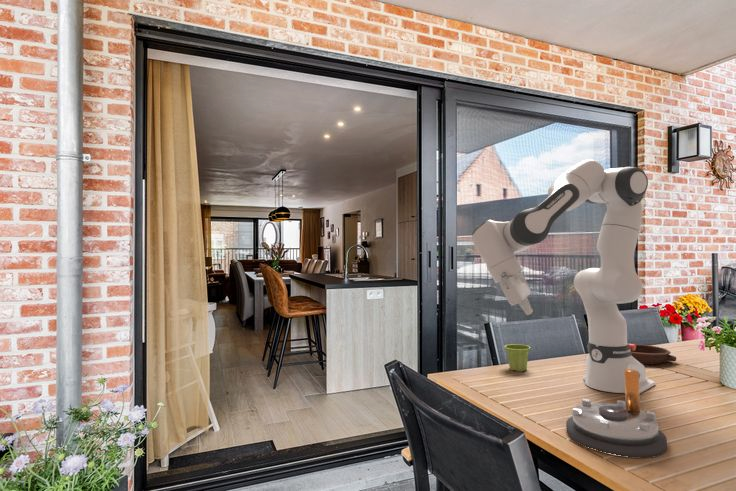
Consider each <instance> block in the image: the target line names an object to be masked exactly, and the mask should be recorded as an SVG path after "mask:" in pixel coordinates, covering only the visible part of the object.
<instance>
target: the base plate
mask: <svg viewBox="0 0 736 491" xmlns="http://www.w3.org/2000/svg"><path fill="white" fill-rule="evenodd" d="M565 424H566V428H565V429H566V433H568V434H567V435H568V437H569V436H570V437H571V438H572V439H573V440H572V439H571V440H572V441H574V440H575V441H576V442H575V441H574V442H575V443H577V442H578V443H580V444H582V445H584V446H586V447H589V448H593V449H596V450H598V451H602V452H606V453H611V454H616V455H621V456H628V457H651V458H654V457H653V456H656V457H659V456H662V455H663V454H665V453H666V451H667V450H668V449H667V448H668V439H667V436H666V435H665V434H664V432H663V431H662V430H660V429H659V428H658V432H659V438H658V440H657V441H655V442H653V443H651V444H646V445H621V444H614V443H609V442H605V441H601V440H598V439H595V438H592V437H589V436H587V435H585V434H583V433H581V432H580V431H578V430H577V429H576V428H575V427H574V425H573V415H572V416H570V417H568V418H567V419H566V423H565ZM570 437H569V438H570ZM578 443H577V444H578ZM580 444H579V445H580ZM582 445H581V446H582ZM584 446H583V447H584ZM586 447H585V448H586ZM589 448H588V449H589ZM658 455H659V456H658Z"/></svg>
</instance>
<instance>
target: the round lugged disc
mask: <svg viewBox="0 0 736 491" xmlns="http://www.w3.org/2000/svg"><path fill="white" fill-rule="evenodd" d="M624 374H625V393H624V396H625V400H621V399H620V400H619V399H618V400H617V401H616V403H610V402H609V403H608V402H592V401H591V399H589V398H583V399H582V400H581V402H582V403H581V404H577V405H575V406H574V407H573V408H572V409H571V410H572V411H571V412H572V416H573V425H574V427H575V428H576V429H577V430H578V431H580V432H581V433H583V434H585V435H587V436H589V437H592V438H595V439H598V440H601V441H605V442H609V443H614V444H621V445H646V444H651V443H653V442H655V441H657V440H658V438H659V432H658V429H659V422H658V420H657V419H656V412H653V411H649V410H647V411H646V412H645V411H643V410H641V404H640V403H641V402H640V401H641V400H640V394H639V373H638V371H637V370H632V369H625V370H624Z"/></svg>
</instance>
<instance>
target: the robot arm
mask: <svg viewBox="0 0 736 491" xmlns="http://www.w3.org/2000/svg"><path fill="white" fill-rule="evenodd" d="M648 186H649V180H648V176H647V174H646V173H645V170H644V169H642V168H639V167H638V166H637V167H636V166H625V167H615V168H614V167H613V168H607V169H605V168H604V166H603V165H602V164H601V163H600V162H598V161H596V160H593V159H585V160H582V161H581V162H578V163H576V164H575V165H573V166H572V167H570V168H568V169H567V170H565V171H564V172H563V173H562V174H561V175H559V177H557V178H556V180H554V181H553V183H552V184H551V185H550V187H548V189H547V198H545V199H544V200H543V201H542V202H541V203H539V204H537V206H534V207H531V208H527V209H523V210H521V211H520V212H518V213H517V214H516V216H514V217H513V218H512V219H511V220H510V221H496V220H493V219H487V220H485V221H483V222H482V223H481V224H480V225H478V226H477V227H476V228H474V230H473V231H472V233H471V238H472V241H473V243H474V244H473V245H474V246H475V249H476V250H477V252H478V254H479V256H480V258H481V259H482V260H483V261H484V263H485V264H486V268H487V271H488V272H489V274H490V276H491V278H492V280H493V282H494V283H495V284H497V283H499V286H500V288H501V291H502V293H503V295H504V296H505V298H506V300H507V302H508V303H509V304H510V306H511V307H514V306H515V305H518V306H519V307H520V308H521V309H522V310H523V312H524V313H525V315H526V316H529V315H531V314H532V313H533V312H534V311H533V308H532V307H531V304H530V301H529V299H528V297H529V296H530V294H531V288H530V286H529V283H528V281H527V279H526V278H525V275H524V274H523V272H522V271H523V268H522V266H521V264H520V262H519V261H518V259H517V257H516V255H515V254H517V253H522V252H524V251H526V250H527V249H529V248H531V247H533V246H534V245H536V244H539V243H542V242H543V241H544V240H545V239H546V238H547V237H548V235H549V233H550V230H551V228H552V225H553V223H554V222H555V221H556V220H557V219H558V218H560V217H561V215H562V214H564V213H565V212H570V211H573V210H574V209H576V208H578V207H579V206H581V205H582V204H583V203H585V202H586V203H588V204H605V206H606V211H605V213H604V217H603V219H602V223H601V227H600V232H599V235H598V238H597V241H596V242H597V243H596V251H597V252H598V253H599V256H600V267H590V268H586V269H582V270H580V271H578V272H577V273H576V275H575V276H574V278H573V286H574V289H575V291H576V292H577V293H578V294H579V297H580V298H581V300H582V303H583V308H584V311H585V313H586V318H587V324H588V326H587V328H588V342H587V353H588V355H587V356H586V360H585V375H583V376H582V379H583V381H585V382H584V384H585V385H586V386H587V387H589V388H591V389H593V390H598V391H602V392H607V393H617V394H625V374H624V370H625V369H632V370H637V371H638V373H639V395H640V394H641V393H643V392H645V391H647V390H648V389H650V388H652V387H654V386H655V385H656V382H655V381H654V380H652V379H650V378H647V373H646V368H645V365H644V364H641V363H640V362H638V361H637V360H636V359H635V358H634V357H633V356H631V355H632V354H631V350H633V351H634V350H636V347H635V344H634V343H628V328H627V326H628V325H627V320H626V318H625V317H624V315H622V313H621V312H620V310H619V308H618V305H617V304H628V303H633V302H635V301H637V300H639V298H640V297H641V295H642V293H643V290H644V289H643V282H642V279H641V278H640V277H639V275H638V274H637V271H636V268H635V252H636V247H637V242H638V238H639V235H640V234H639V233H640V230H641V226H642V219H643V205H642V202H641V201H642V200H643V198H644V195H645V194H646V192H647V189H648Z"/></svg>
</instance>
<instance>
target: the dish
mask: <svg viewBox="0 0 736 491" xmlns="http://www.w3.org/2000/svg"><path fill="white" fill-rule="evenodd" d="M635 347H636V350H634V351H633V350H631V354H632V355H631V356H633V357H634V358H635V359H636V360H637V361H638V362H640V363H641V364H642V365H660V364H663V363H665V362H676V361H677V356H675V355H672V354H671V353H672V352H671V351H670V350H668V349H666V348H663V347H659V346H655V345H647V344H635Z"/></svg>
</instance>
